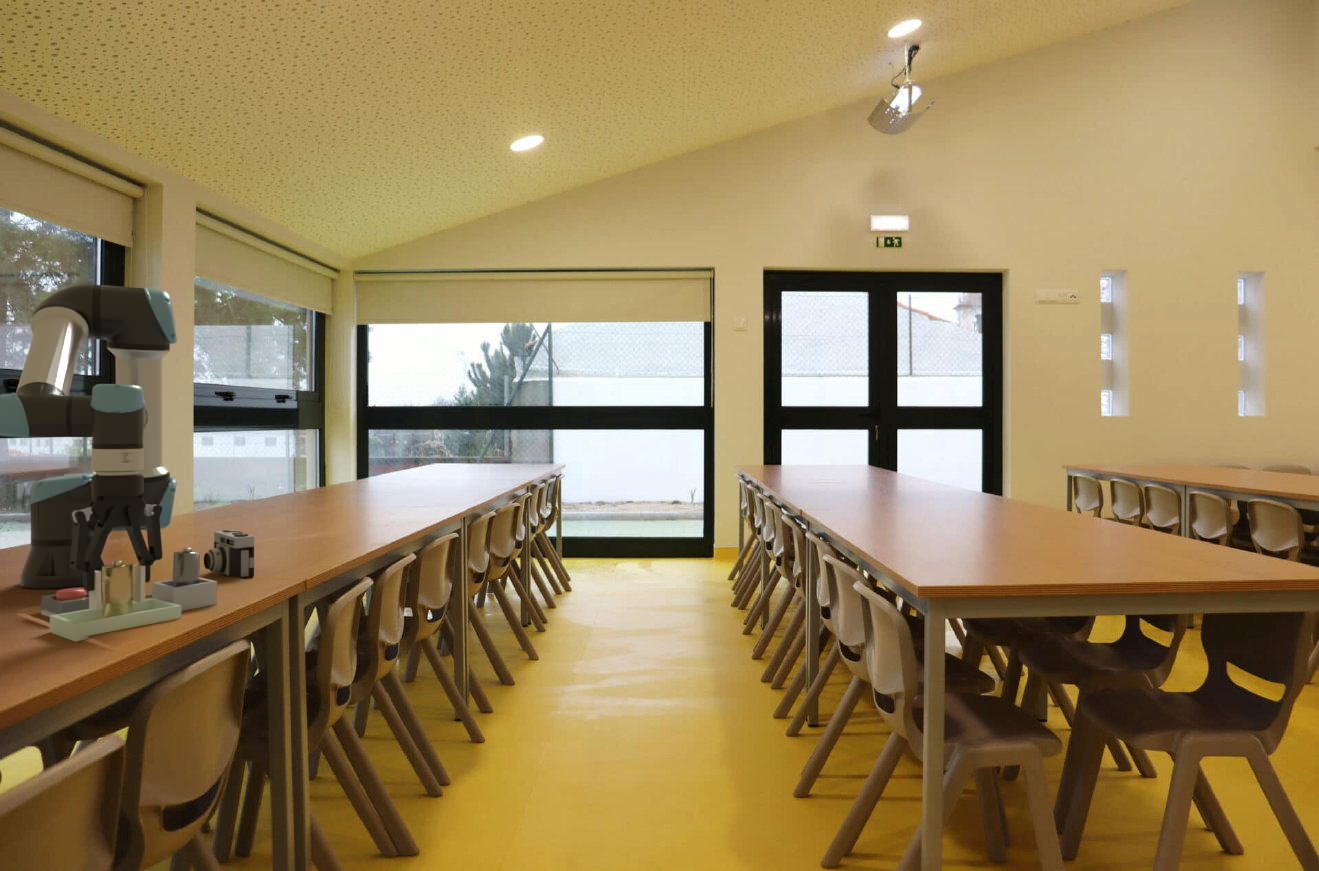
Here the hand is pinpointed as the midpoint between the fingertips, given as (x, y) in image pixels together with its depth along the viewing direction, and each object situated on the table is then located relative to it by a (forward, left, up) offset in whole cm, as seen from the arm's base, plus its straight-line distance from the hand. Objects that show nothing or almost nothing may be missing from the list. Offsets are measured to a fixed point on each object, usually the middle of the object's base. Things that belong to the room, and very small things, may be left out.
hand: (117, 605), depth 141 cm
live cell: (0, 0, -3) cm, 3 cm away
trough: (0, 0, -4) cm, 4 cm away
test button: (-14, -2, -1) cm, 15 cm away
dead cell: (-4, +13, -3) cm, 15 cm away
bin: (-4, +13, -4) cm, 15 cm away
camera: (-29, +35, -4) cm, 46 cm away
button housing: (-14, -2, -4) cm, 15 cm away
